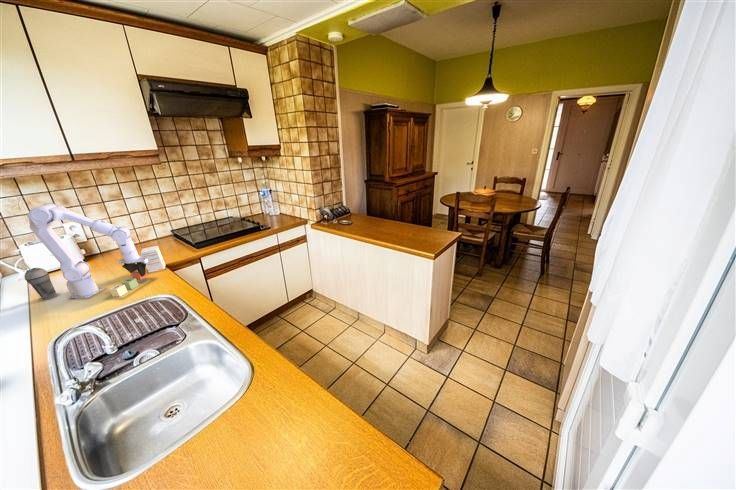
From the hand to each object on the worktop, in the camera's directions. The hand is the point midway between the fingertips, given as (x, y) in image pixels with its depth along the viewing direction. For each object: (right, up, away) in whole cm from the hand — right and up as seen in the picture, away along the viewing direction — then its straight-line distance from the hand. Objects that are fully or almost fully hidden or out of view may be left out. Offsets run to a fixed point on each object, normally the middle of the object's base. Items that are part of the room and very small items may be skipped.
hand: (139, 275), depth 136 cm
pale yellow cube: (-1, -8, -10) cm, 12 cm away
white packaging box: (-3, +2, +15) cm, 15 cm away
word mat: (0, -6, -4) cm, 7 cm away
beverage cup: (-37, -10, -8) cm, 39 cm away
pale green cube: (0, -5, -4) cm, 7 cm away
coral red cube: (0, -1, +1) cm, 1 cm away
